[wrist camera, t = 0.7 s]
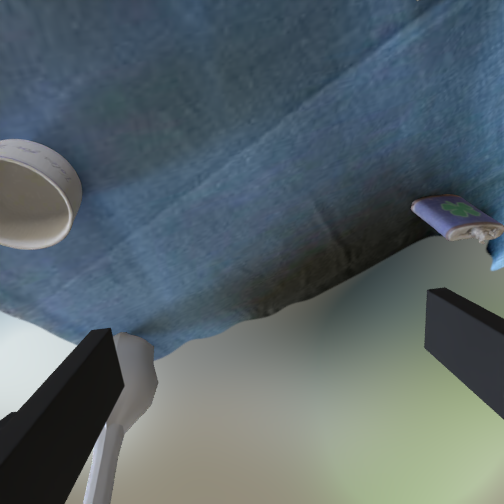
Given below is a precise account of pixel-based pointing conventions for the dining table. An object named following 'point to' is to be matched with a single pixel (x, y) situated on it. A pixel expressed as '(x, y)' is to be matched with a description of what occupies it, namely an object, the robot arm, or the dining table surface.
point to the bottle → (122, 413)
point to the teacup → (36, 195)
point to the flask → (456, 218)
